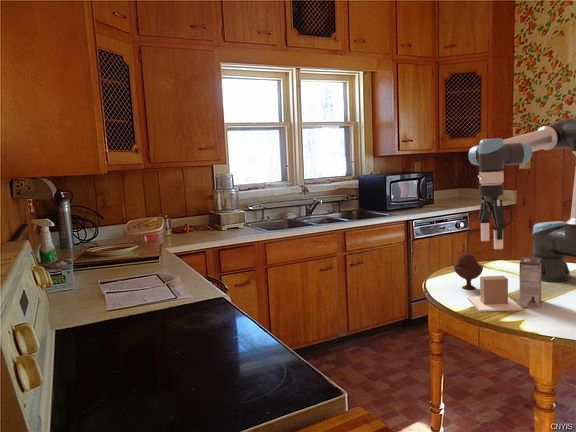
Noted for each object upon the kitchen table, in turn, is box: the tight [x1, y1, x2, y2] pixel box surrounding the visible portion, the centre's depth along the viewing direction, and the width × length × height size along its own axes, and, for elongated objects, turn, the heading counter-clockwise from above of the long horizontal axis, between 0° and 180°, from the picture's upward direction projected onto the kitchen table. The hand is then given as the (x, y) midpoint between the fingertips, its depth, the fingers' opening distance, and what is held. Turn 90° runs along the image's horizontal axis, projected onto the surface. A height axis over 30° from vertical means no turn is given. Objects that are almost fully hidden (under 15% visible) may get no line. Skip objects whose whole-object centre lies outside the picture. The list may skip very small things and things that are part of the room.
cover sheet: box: [467, 275, 524, 312], centre depth 154 cm, size 14×14×10 cm
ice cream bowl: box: [453, 252, 484, 291], centre depth 173 cm, size 11×11×15 cm
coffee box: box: [519, 256, 542, 310], centre depth 152 cm, size 9×6×16 cm
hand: (491, 244), depth 152 cm, fingers open, 13 cm apart
